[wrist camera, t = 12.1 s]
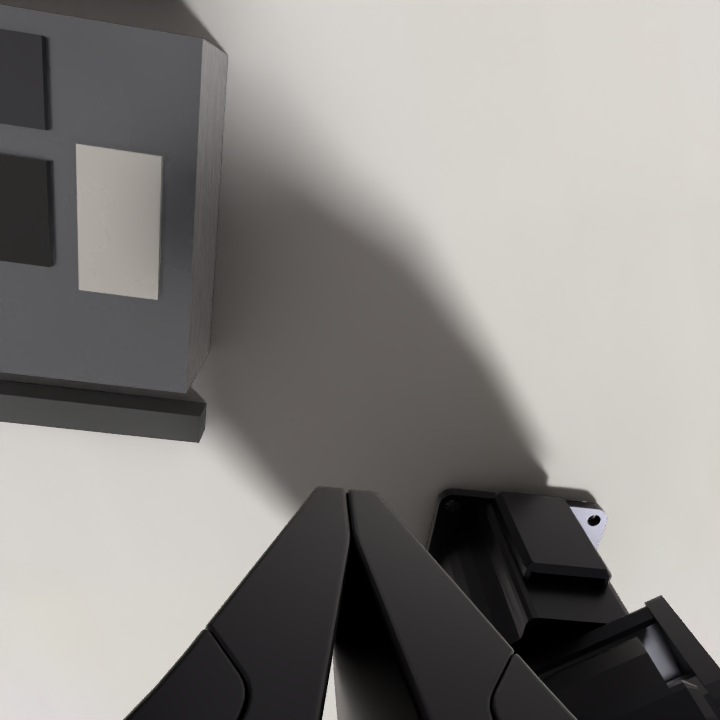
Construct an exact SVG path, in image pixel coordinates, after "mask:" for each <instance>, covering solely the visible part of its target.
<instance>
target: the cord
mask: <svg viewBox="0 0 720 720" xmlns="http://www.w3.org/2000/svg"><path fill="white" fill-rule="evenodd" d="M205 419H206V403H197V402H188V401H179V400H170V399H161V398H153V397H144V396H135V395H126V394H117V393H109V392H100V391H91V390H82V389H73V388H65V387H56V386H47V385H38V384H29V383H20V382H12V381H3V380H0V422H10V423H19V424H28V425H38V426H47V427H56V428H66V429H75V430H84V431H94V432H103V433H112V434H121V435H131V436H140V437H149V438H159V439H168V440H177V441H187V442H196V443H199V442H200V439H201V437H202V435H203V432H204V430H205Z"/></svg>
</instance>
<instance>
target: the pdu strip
mask: <svg viewBox="0 0 720 720" xmlns="http://www.w3.org/2000/svg"><path fill="white" fill-rule="evenodd" d="M227 62H228V55H227V54H225V53H224V52H222V51H221V50H220V49H218V48H217V47H215V46H214V45H212V44H211V43H209V42H208V41H206V40H205V39H203V38H198V37H192V36H186V35H180V34H174V33H168V32H162V31H156V30H150V29H144V28H138V27H132V26H127V25H121V24H115V23H109V22H103V21H97V20H91V19H85V18H79V17H73V16H67V15H61V14H55V13H49V12H43V11H38V10H32V9H26V8H20V7H14V6H8V5H2V4H0V372H3V373H11V374H20V375H29V376H37V377H46V378H55V379H64V380H72V381H81V382H90V383H99V384H107V385H116V386H125V387H133V388H142V389H151V390H160V391H168V392H177V393H186V392H187V391H188V389H189V387H190V385H191V383H192V382H193V380H194V378H195V376H196V374H197V372H198V371H199V369H200V367H201V365H202V363H203V362H204V360H205V358H206V356H207V354H208V352H209V351H210V338H211V321H212V305H213V289H214V273H215V257H216V240H217V224H218V208H219V192H220V175H221V159H222V143H223V127H224V111H225V94H226V78H227Z"/></svg>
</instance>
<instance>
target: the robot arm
mask: <svg viewBox="0 0 720 720" xmlns="http://www.w3.org/2000/svg"><path fill="white" fill-rule="evenodd" d="M451 500H455V501H457V502H456V503H455V504H454V505H450V506H449V505H446V504H447V502H449V501H451ZM592 515H596V516H595V517H594V518H593V519H590V520H588V518H589V517H590V516H592ZM606 522H607V516H606V513H605V512H604V511H603V509H602V508H601V507H600V506H599V505H598V504H594V503H587V502H577V501H567V500H565V499H564V498H560V497H551V496H541V495H532V494H522V493H513V492H499V493H491V492H481V491H472V490H462V489H446V490H444V491H442V492H441V493H440V494H439V496H438V498H437V502H436V507H435V511H434V515H433V520H432V524H431V529H430V533H429V537H428V542H427V546H426V549H425V548H424V547H423V545H422V544H421V543H420V542H419V541H418V540H417V539H416V537H415V536H414V535H413V534H412V533H411V532H410V531H409V529H408V528H407V527H406V526H405V525H404V524H403V523H402V521H401V520H400V519H399V518H398V517H397V516H396V515H395V513H394V512H393V511H392V510H391V509H390V508H389V507H388V505H387V504H386V503H385V502H384V501H383V500H382V499H381V497H380V496H379V495H378V494H377V493H375V492H372V491H362V490H349V491H348V492H347V493H346V491H345V490H344V489H342V488H333V487H323V486H319V487H317V488H316V489H315V490H314V491H313V492H312V493H311V495H310V496H309V497H308V498H307V500H306V501H305V502H304V504H303V505H302V506H301V507H300V509H299V510H298V511H297V512H296V514H295V515H294V516H293V517H292V519H291V520H290V521H289V522H288V524H287V525H286V526H285V527H284V529H283V530H282V531H281V532H280V534H279V535H278V536H277V537H276V539H275V540H274V541H273V542H272V544H271V545H270V546H269V547H268V549H267V550H266V551H265V552H264V554H263V555H262V556H261V557H260V559H259V560H258V561H257V563H256V564H255V565H254V566H253V568H252V569H251V570H250V571H249V573H248V574H247V575H246V576H245V578H244V579H243V580H242V581H241V583H240V584H239V585H238V586H237V588H236V589H235V590H234V591H233V593H232V594H231V595H230V596H229V598H228V599H227V600H226V601H225V603H224V604H223V605H222V606H221V608H220V609H219V610H218V611H217V613H216V614H215V615H214V617H213V618H212V619H211V620H210V622H209V623H208V624H207V625H206V628H205V629H204V630H202V631H201V632H200V634H199V635H198V636H197V637H196V639H195V640H194V641H193V642H192V644H191V645H190V646H189V647H188V649H187V650H186V651H185V652H184V654H183V655H182V656H181V657H180V658H179V660H178V661H177V662H176V663H175V664H174V665H173V667H172V668H171V669H170V670H169V671H168V672H167V674H166V675H165V676H164V677H163V678H162V679H161V680H160V682H159V683H158V684H157V685H156V686H155V687H154V688H153V690H152V691H151V692H150V693H149V694H148V695H147V696H146V697H145V698H144V699H143V700H142V701H141V702H140V703H139V704H138V705H137V706H136V707H135V708H134V709H133V710H132V711H131V712H130V713H129V714H128V715H127V716H126V717H125V718H124V719H123V720H322V716H323V710H324V704H325V698H326V692H327V686H328V680H329V674H330V668H331V662H332V656H333V665H334V681H335V694H336V706H337V719H338V720H720V668H719V667H718V665H717V664H716V663H715V662H714V660H713V659H712V658H711V657H710V655H709V654H708V653H707V652H706V650H705V649H704V648H703V647H702V645H701V644H700V643H699V642H698V640H697V639H696V638H695V637H694V635H693V634H692V633H691V632H690V630H689V629H688V628H687V627H686V625H685V624H684V623H683V622H682V620H681V619H680V618H679V617H678V615H677V614H676V613H675V612H674V610H673V609H672V608H671V607H670V605H669V604H668V603H667V602H666V600H665V599H664V598H663V597H662V595H661V596H658V597H656V598H654V599H652V600H649V601H647V602H645V605H646V606H645V607H643V608H641V609H639V610H636V611H634V612H632V613H630V614H629V612H628V611H627V609H626V607H625V606H624V604H623V603H622V601H621V599H620V598H619V596H618V594H617V593H616V591H615V589H614V588H613V586H612V584H611V583H610V579H611V577H612V576H611V573H610V571H609V569H608V568H607V566H606V564H605V563H604V561H603V560H602V558H601V556H600V555H599V553H598V552H597V548H598V545H599V542H600V539H601V536H602V534H603V531H604V528H605V525H606Z"/></svg>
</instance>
